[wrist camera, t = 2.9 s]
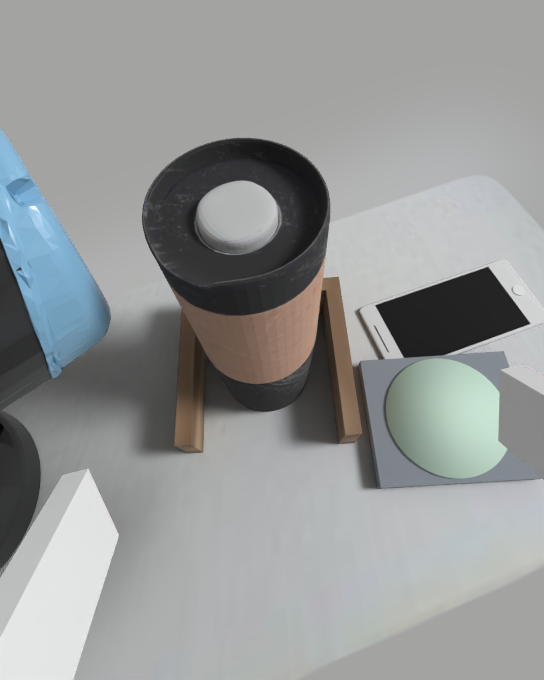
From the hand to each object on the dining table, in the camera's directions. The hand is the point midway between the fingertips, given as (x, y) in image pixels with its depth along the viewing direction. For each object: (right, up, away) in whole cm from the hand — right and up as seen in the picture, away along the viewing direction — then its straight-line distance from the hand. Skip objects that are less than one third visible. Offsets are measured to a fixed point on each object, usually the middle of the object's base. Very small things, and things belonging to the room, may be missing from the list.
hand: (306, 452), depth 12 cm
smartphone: (+15, +5, +23) cm, 28 cm away
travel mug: (-1, +1, +21) cm, 21 cm away
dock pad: (+13, -3, +19) cm, 23 cm away
